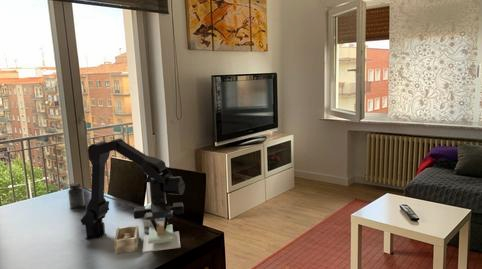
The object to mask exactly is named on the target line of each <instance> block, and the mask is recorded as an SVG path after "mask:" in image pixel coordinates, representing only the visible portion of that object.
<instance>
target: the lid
mask: <svg viewBox="0 0 482 269" xmlns="http://www.w3.org/2000/svg"><path fill="white" fill-rule="evenodd" d="M173 232H174V229H173V224H167V227H166V231H164V221H160V222H157V232H156V231H155V228H154V226H153V227H149V233H148V235H149V238H148V244H151V243H154V244H157V243H164V242H168V241H174V240H173Z"/></svg>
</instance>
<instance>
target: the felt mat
mask: <svg viewBox="0 0 482 269" xmlns="http://www.w3.org/2000/svg"><path fill="white" fill-rule="evenodd" d="M148 238H149V234H144V236H143V241H142V242H143V244H142V253H149V252H156V251H163V250H170V249H180V248H181V247H182V246H181V241H180V231H179V230H177V231H173V240H174V241H168V242H164V243H157V244H154V243H151V244H148Z"/></svg>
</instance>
